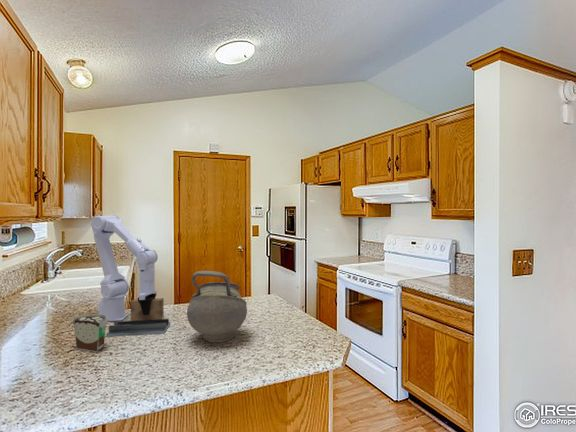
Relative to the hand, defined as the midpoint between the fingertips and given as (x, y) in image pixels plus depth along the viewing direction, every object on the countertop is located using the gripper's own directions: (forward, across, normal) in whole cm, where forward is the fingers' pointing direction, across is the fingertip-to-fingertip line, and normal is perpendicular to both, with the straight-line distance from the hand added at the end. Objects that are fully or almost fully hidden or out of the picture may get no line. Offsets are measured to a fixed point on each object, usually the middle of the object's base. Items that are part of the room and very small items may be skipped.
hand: (147, 313), depth 134 cm
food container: (+4, -24, +10) cm, 26 cm away
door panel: (+2, 0, 0) cm, 2 cm away
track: (+3, -10, 0) cm, 11 cm away
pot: (+4, -23, -30) cm, 38 cm away
